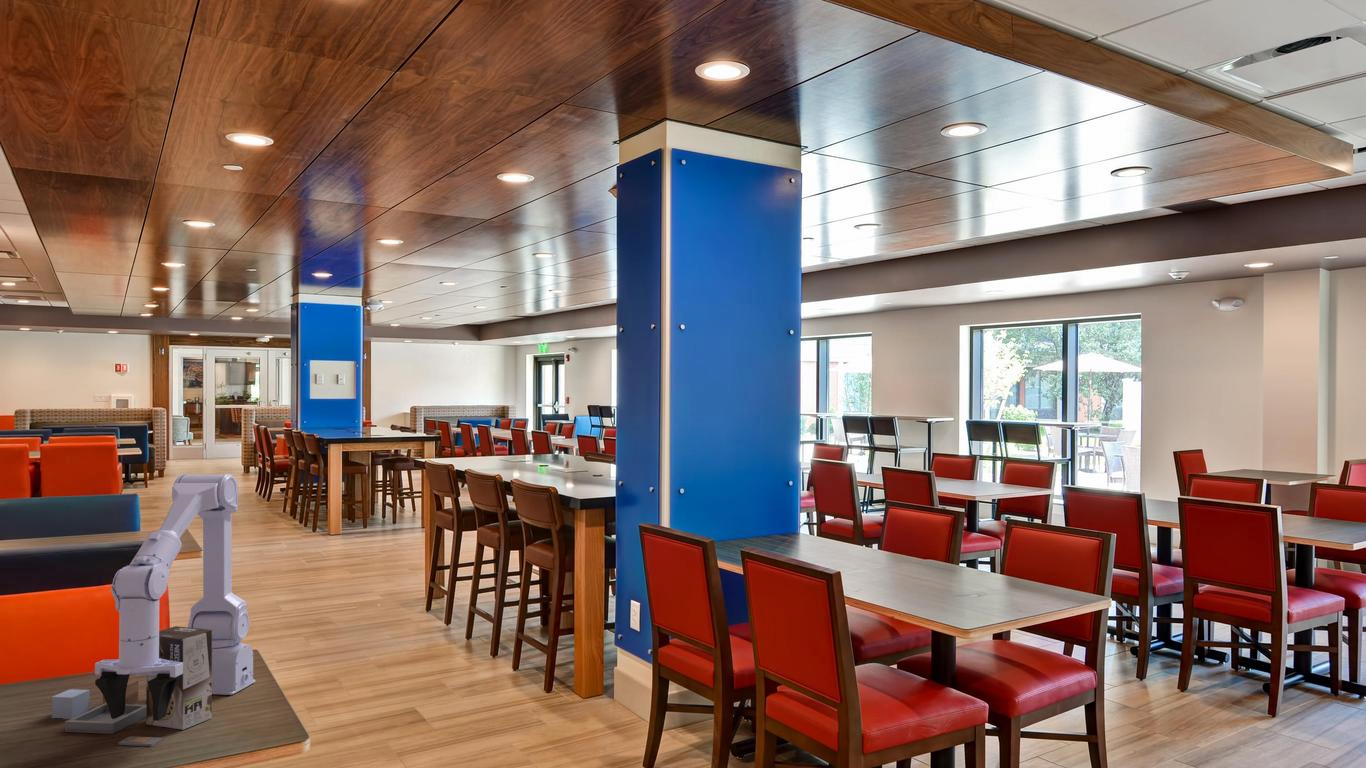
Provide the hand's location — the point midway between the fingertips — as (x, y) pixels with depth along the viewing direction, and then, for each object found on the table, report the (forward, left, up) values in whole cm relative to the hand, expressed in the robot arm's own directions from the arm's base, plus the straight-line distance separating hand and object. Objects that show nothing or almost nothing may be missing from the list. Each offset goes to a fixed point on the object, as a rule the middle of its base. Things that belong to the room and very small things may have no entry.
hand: (138, 717), depth 144 cm
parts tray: (+12, -8, -4) cm, 15 cm away
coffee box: (0, -10, -5) cm, 11 cm away
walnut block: (+17, -17, -4) cm, 24 cm away
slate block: (+22, -11, -4) cm, 25 cm away
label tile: (0, 0, -4) cm, 4 cm away
